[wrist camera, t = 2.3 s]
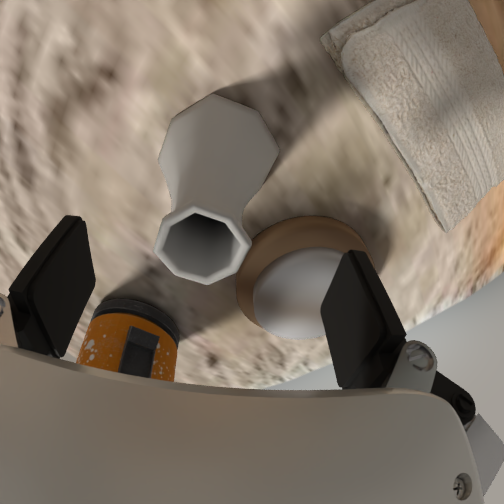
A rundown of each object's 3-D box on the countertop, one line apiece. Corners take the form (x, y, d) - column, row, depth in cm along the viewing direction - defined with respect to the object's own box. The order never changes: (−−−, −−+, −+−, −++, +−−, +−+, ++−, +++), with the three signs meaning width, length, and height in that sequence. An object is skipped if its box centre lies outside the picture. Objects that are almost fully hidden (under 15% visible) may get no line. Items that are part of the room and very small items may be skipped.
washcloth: (422, -36, 9) (447, -42, 7) (515, 149, 17) (537, 163, 15) (302, 44, 14) (315, 42, 12) (433, 223, 22) (451, 244, 20)
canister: (89, 329, 28) (47, 502, 12) (110, 263, 23) (37, 511, 7) (162, 358, 31) (146, 529, 16) (204, 304, 26) (194, 544, 10)
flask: (300, 148, 18) (351, 241, 10) (224, 221, 21) (218, 339, 13) (211, 72, 15) (178, 92, 7) (140, 160, 18) (72, 257, 10)
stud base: (248, 205, 20) (250, 234, 17) (387, 227, 22) (405, 255, 19) (228, 312, 27) (228, 344, 24) (339, 319, 28) (348, 348, 25)
